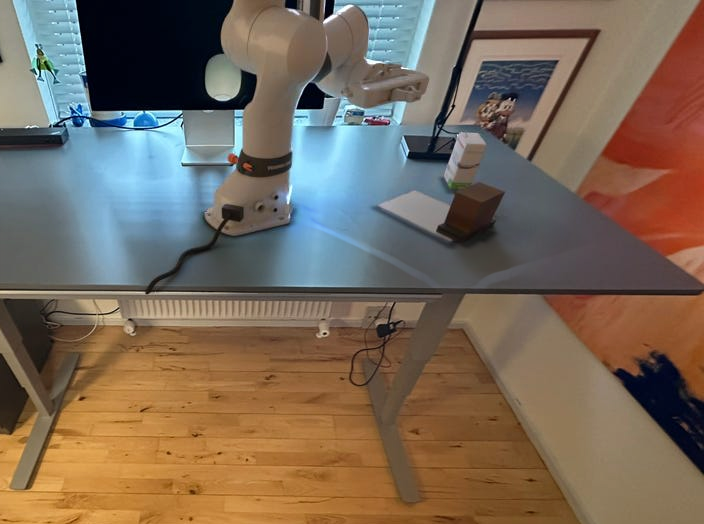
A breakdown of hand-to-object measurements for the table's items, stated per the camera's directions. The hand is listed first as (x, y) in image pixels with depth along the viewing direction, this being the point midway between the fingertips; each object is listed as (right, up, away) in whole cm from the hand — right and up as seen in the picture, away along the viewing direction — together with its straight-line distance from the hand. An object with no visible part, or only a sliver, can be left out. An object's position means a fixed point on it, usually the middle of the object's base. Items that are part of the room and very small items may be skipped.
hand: (416, 97), depth 88 cm
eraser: (+12, -27, +4) cm, 30 cm away
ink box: (+20, -11, +20) cm, 30 cm away
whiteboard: (+8, -23, +10) cm, 26 cm away
